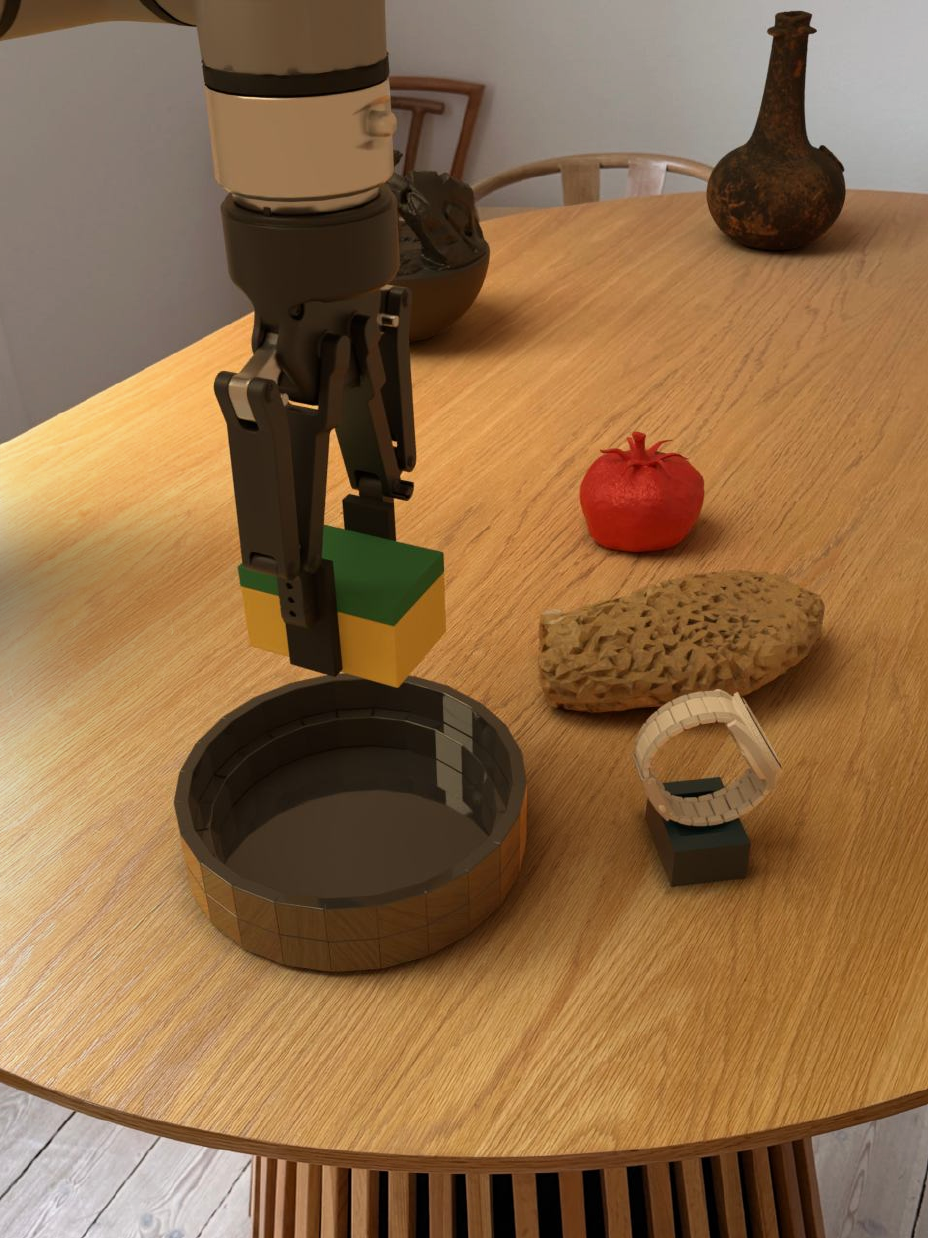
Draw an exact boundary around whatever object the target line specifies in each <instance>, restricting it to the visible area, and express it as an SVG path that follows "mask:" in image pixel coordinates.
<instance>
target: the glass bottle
mask: <svg viewBox="0 0 928 1238" xmlns="http://www.w3.org/2000/svg"><path fill="white" fill-rule="evenodd" d="M812 17H813V13H810V12H808V11H804V10H789V11H780V12H777V13H775V14H774V25H773V26H770V27H768V28H767V29H766V33H767V34H768V35H769V36H771V37H772V42H771V48H770V49H771V50H770V54H769V59H768V67H767V71H766V77H765V83H764V87H763V93H762V97H761V102H760V107H759V111H758V114H757V118H756V121H755V125H754V128H753V130H752V133H751V135H750V137H749V139H748V140H747V141H746V142H745V143H744V144H742V145H740V146H738V147H736V148H733V149H732V150H730V151H728V152H727V153H726V154H725V155H724V156H722V158H720V159H719V161H718V162H717V163H716V164H715V166H714V168H713V169H712V171H711V172H710V175H709V178H708V180H707V184H706V192H705V193H706V195H705V196H706V203H707V207H708V211H709V213H710V216H711V218H712V219H713V221H714V223H715V224H716V226H717V228H719V230H720V231H721V232H722V233H723V234H724V235H725V236H726V237H728V238H729V239H731V241H734V242H736V243H737V244H740V245H743V246H746V247H749V248H754V249H759V250H769V251H770V250H771V251H782V250H791V249H797V248H800V247H804V246H806V245H808V244H811V243H813V242H814V241H816V240H817V239H819V238H821V237H822V236H823V235H824V234H826V233H827V231H829V229H830V228H831V227H832V226H833V225H834V224H835V222H836V221H837V220H838V218H839V217H840V215H841V213H842V211H843V208H844V204H845V200H846V194H847V193H846V190H847V189H846V179H845V176H844V172H845V169H846V168H845V167H844V165H843V163H842V162H841V161H840V160H839V158H838V157H837V156H836V155H835V154H834V152H832V151H831V150H830V149H829V148H828V147H827V146H826V145H824V144H821V145H820V146H819V147H816V146H813V145H812V143H811V142H810V140H809V137H808V132H807V124H806V123H807V122H806V104H805V103H806V77H807V75H806V74H807V61H808V50H809V49H808V45H809V36H810V35H814V34H816V33H817V32H818V30H817V29H816V28H815V27H812V26H811V22H812V19H813V18H812Z"/></svg>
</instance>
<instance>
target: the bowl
mask: <svg viewBox="0 0 928 1238" xmlns="http://www.w3.org/2000/svg"><path fill="white" fill-rule="evenodd" d="M176 781H177V782H176V787H175V793H174V797H173V809H174V814H175V817H176V823H177V827H178V834H179V838H180V842H181V847H182V853H183V858H184V862H185V867H186V871H187V877H188V881H189V886H190V891H191V894H192V896H193V898H194V899H195V901H196V902H197V904H198V905H199V907H200V909H201V910H202V912H203V913H204V914H205V916H206V918H207V919H208V921H209V922H210V923H211V925H212V926H214V927H215V928H216V929H217V930H219V931H220V932H221V933H223V934H224V935H225V936H227V937H228V938H229V939H230V940H231V941H233V942H234V943H235V944H237V945H238V946H239V947H240V948H242V949H244V950H246V951H249V952H251V953H254V954H255V955H258V956H261V957H263V958H266V959H268V960H270V961H273V962H275V963H278V964H281V965H284V966H288V967H294V968H295V967H297V968H302V969H310V970H316V971H324V972H330V973H332V972H333V973H334V972H335V973H336V972H348V971H349V972H351V971H352V972H353V971H365V970H379V969H385V968H389V967H392V966H397V965H400V964H403V963H404V964H405V963H407V962H411V961H414V960H419V959H421V958H426V957H428V956H430V955H433V954H434V953H436V952H438V951H440V950H441V949H443V948H445V947H447V946H449V945H451V944H453V943H454V942H456V941H459V940H460V939H462V938H464V937H466V936H468V935H469V934H470V933H472V932H473V931H475V929H476V928H477V927H478V926H479V925H481V924H482V923H483V922H484V921H485V920H486V919H487V918H488V917H490V915H492V914H493V913H494V912H496V910H497V909H498V908H500V906H501V905H502V903H503V901H504V900H505V898H506V897H507V895H508V893H509V892H510V890H511V889H512V888H513V885H514V884H515V881H516V880H517V879H518V877H519V875H520V872H521V868H522V863H523V858H524V855H525V849H526V845H527V823H528V822H527V821H528V820H527V817H528V816H527V815H528V811H527V810H528V778H527V771H526V767H525V760H524V754H523V751H522V749H521V748H520V746H519V744H518V743H517V740H516V739H515V738H514V736H513V734H512V733H511V731H510V729H509V728H508V725H507V724H506V723H505V722H503V721H502V720H501V719H500V718H499V716H497V715H496V714H495V713H493V712H492V710H490V709H489V708H488V707H487V706H486V705H485V704H483V702H482V703H481V701H478V700H476V699H475V698H474V697H473V698H472V697H471V696H469V695H467V694H465V693H464V692H462V691H459V690H457V689H456V688H454V687H452V686H450V685H448V684H444V683H440V682H436V681H434V680H430V679H426V678H423V677H420V676H416V675H411V674H410V675H409V676H408V677H407V678H406V679H405V680H404V682H403V683H402V684H401V685H400V686H399V687H398V688H396V687H393V686H389V685H386V684H382V683H379V682H375V681H372V680H368V679H364V678H361V677H357V676H354V675H350V674H347V673H343V672H340V673H339V674H338V675H337V676H336V677H333V676H330V675H326V674H323V675H320V676H316V677H315V676H314V677H310V678H307V679H301V680H296V681H292V682H289V683H287V684H284V685H281V686H279V687H276V688H273V689H271V690H268V691H266V692H263V693H261V694H258V695H256V696H254V697H252V698H250V699H248V700H247V701H246V702H244V703H242V704H240V705H239V706H237V707H235V708H234V709H233V710H231V711H230V712H228V713H226V714H224V715H223V716H222V717H221V718H219V719H218V721H216V722H215V724H214V725H212V726H211V727H210V728H209V729H208V730H207V731H206V732H205V733H204V734H203V735H202V736H201V737H200V738H199V739H198V740H197V741H196V742H195V744H194V745H193V747H192V749H191V750H190V752H189V754H188V756H187V758H186V759H185V761H184V762H183V765H182V766H181V768H180V770H179V771H178V776H177V780H176Z"/></svg>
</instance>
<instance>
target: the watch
mask: <svg viewBox="0 0 928 1238" xmlns="http://www.w3.org/2000/svg"><path fill="white" fill-rule="evenodd" d="M672 703H673V704H672ZM673 705H674V706H673ZM686 705H687V706H686ZM716 722H717V723H724V725H725V727H726V730H727V731H728V733H729V735H730V736H731V738H732V740H733V742H734V743H735V745H736V747H737V749H738V751H739V753H740V755H741V756H742V758H743V759H744V761H745V763H746V764H747V766H748V768H746V769H745V770H744V771H743V773H741V775H740V776H739V778H737V779H735V780H734V781H732V782H731V783H730V784H728V785H727V787H726V786H725V784H724V782H723V780H722V778H721V776H715V777H706V778H705V777H704V778H696V779H685V780H677V781H667V782H661V781H660V780H659V778H658V777H657V776H656V775H655V773H654V765H653V763H652V759H653V758H654V757H655V755H656V754H657V752H658V751H659V748H660V747H662V746H664V744H666V743H667V742H668V741H669V740H670V738H674V737H675V736H677V735H679V734H680V733H683V732H684V729H685V730H689V729H691V728H695V727H698V726H699V725H706V724H715V723H716ZM631 757H632V760H633V763H634V766H635V769H636V771H637V775H638V777H639V779H640V781H641V784H642V787H643V790H644V792H645V794H646V809H645V815H644V817H645V818H644V819H645V823H646V825H647V827H648V831H649V834H650V836H651V838H652V841H653V843H654V846H655V849H656V851H657V854H658V857H659V859H660V862H661V865H662V867H663V870H664V873H665V876H666V879H667V880H668V883H669V887H670V888H675V887H685V886H692V885H700V884H701V885H702V884H710V883H718V882H725V881H726V882H727V881H735V880H736V881H737V880H743V879H746V876H747V870H748V864H749V859H750V854H751V853H750V852H751V846H752V842H751V840H750V838H749V836H748V833H747V831H746V829H745V827H744V825H743V822H742V821H741V818H740V816H744V815H746V814H747V813H749V812H751V811H752V810H753V809H754V808H755V807H757V806H758V805H760V803H762V801H764V800H765V798H766V797H767V795H768V794H770V792H771V791H772V790H774V789H776V788H777V787H776V786H777V775H776V774H781V773H783V772H784V771H783V767H782V765H781V761H780V759H779V757H778V755H777V753H776V751H775V750H774V748H773V746H772V744H771V742H770V740H769V739H768V737H767V735H766V734H765V732H764V730H763V728H762V726H761V725H760V722H759V721H758V719H757V718H756V716H755V715H754V713H753V711H752V709H751V707H750V706H749V704H748V703H747V701H746V700H745V698H744V696H741V695H740V694H739V693H738V692H737V693H735V694H734V696H733V697H732V696H731V695H729V694H728V693H727V692H725V691H723V690H720V689H716V690H714V691H705V692H703V691H701V692H695V693H691V694H688V696H687V695H683V696H681V697H678V698H676V699H674V700H672V702H671V701H670V702H668V703H666V704H665V705H663V706H661V707H659V708H658V709H657V710H655V712H653V713H652V714H651V715H650V716H649V717H648V718H647V719H646V721H645V722H644V723H643V724H642V726H641V728H640V729H639V731H638V733H637V735H636V737H635V740H634V747H633V753H632V754H631Z"/></svg>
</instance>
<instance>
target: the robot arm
mask: <svg viewBox="0 0 928 1238" xmlns="http://www.w3.org/2000/svg"><path fill="white" fill-rule="evenodd" d="M108 22H136V23H137V22H139V23H153V24H168V25H169V24H171V25H176V26H181V27H182V26H183V27H190V28H196V33H197V38H198V45H199V51H200V57H201V64H202V66H201V68H202V75H203V83H204V86H203V87H204V94H205V95H204V96H205V100H206V101H205V103H206V111H207V121H208V128H209V136H210V137H209V138H210V146H211V155H212V164H213V165H212V166H213V173H214V180H215V181H216V182H217V183H218V185H219V186H220V187H221V188H222V189H224V190H226V191H227V192H228V193H227V195H226V196H225V197H224V200H223V201H222V202H221V204H220V216H221V217H220V218H221V225H222V231H223V232H222V233H223V239H224V246H225V254H226V264H227V271H228V272H227V273H228V276H229V278H230V280H231V282H232V283H233V284H234V286H235V287H236V288H237V289H239V290H240V291H241V292H242V293H243V294H244V295H245V297H247V298H248V300H249V302H250V303H251V304H252V306H253V310H254V311H253V312H254V313H253V314H254V315H253V316H254V317H253V326H252V327H253V328H252V334H251V341H250V343H251V351H252V356H251V357H250V358H249V360H248V361H247V362H246V364H245V365H244V366H243V367H242V368H241V370H240V371H239V372H234V371H229V370H221V371H219V372H218V373H217V374H216V376H215V377H214V382H213V393H214V395H215V398H216V401H217V403H218V406H219V408H220V411H221V413H222V417H223V419H224V421H225V423H226V430H227V439H228V440H227V441H228V448H229V457H230V465H231V475H232V484H233V492H234V494H233V495H234V501H235V510H236V520H237V528H238V530H237V531H238V537H239V538H238V539H239V547H240V556H241V563H242V564H243V567H244V568H245V569H248V570H252V571H255V572H259V573H263V574H267V575H270V576H274V577H277V585H278V593H279V599H280V600H279V602H280V606H281V607H280V610H281V617H282V619H283V621H284V623H285V625H286V633H287V642H288V650H289V657H288V658H289V664H290V665H291V666H295V667H298V668H302V669H305V670H309V671H313V672H315V673H319V674H322V675H330V676H333V677H336V676H337V675H338V674H339V673H342V672H341V671H342V670H343V667H342V656H341V645H340V634H339V623H338V611H337V602H336V588H335V578H334V567H333V561H332V560H328V559H324V558H322V545H323V530H324V525H325V513H326V498H327V486H328V485H327V483H328V471H329V470H328V469H329V456H330V455H329V453H330V440H331V439H330V438H331V432H332V430H334V431H335V434H336V438H337V442H338V445H339V449H340V453H341V456H342V460H343V463H344V464H343V465H344V467H345V471H346V474H347V478H348V481H349V485H350V487H351V489H352V490H354V491H358V495H357V494H352V493H348V494H347V495H346V496H344V497H343V499H341V503H342V504H341V505H342V515H343V517H342V518H343V529H345V530H350V531H354V532H358V533H363V534H367V535H371V536H375V537H380V538H384V539H388V540H393V541H397V527H396V511H395V500H398V501H399V500H400V501H403V502H409V501H410V500H411V499H412V497H413V495H414V491H415V483H414V481H410V480H406V479H402V477H401V475H402V474H403V472H406V473H412V472H413V470H414V469H415V468H416V465H417V444H416V443H417V442H416V429H415V428H416V427H415V425H416V424H415V414H414V411H415V410H414V398H413V383H412V382H413V381H412V366H411V365H412V364H411V350H410V342H409V325H410V315H411V305H412V293H411V290H410V289H409V288H406V287H399V286H392V285H387V284H388V283H389V282H391V281H392V280H393V278H394V277H395V276H396V274H397V272H398V270H399V265H400V257H399V236H398V218H399V214H398V211H397V198H396V196H395V194H394V193H393V192H392V191H391V190H390V188H389V187H388V186H386V185H385V184H384V183H385V182H386V181H387V180H388V179H389V178H390V177H391V176H392V174H393V173H395V167H394V160H393V150H394V142H393V136H394V134H395V132H396V131H397V128H398V121H397V120H398V119H397V117H396V115H395V113H393V112H392V103H391V102H392V101H391V88H390V87H391V86H390V77H389V76H390V71H391V70H390V60H389V56H390V53H389V51H388V49H387V22H386V0H0V42H4V41H9V40H14V39H19V38H24V37H30V36H35V35H41V34H46V33H52V32H57V31H62V30H68V29H74V28H77V27H78V28H79V27H82V26H88V25H94V24H99V23H108ZM397 214H398V215H397ZM383 332H384V333H383ZM292 402H293V403H297V404H301V405H297V404H292ZM303 405H308V406H312V407H316V406H317V408H312V407H307V406H303ZM393 442H395V443H396V445H394V443H393Z"/></svg>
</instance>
